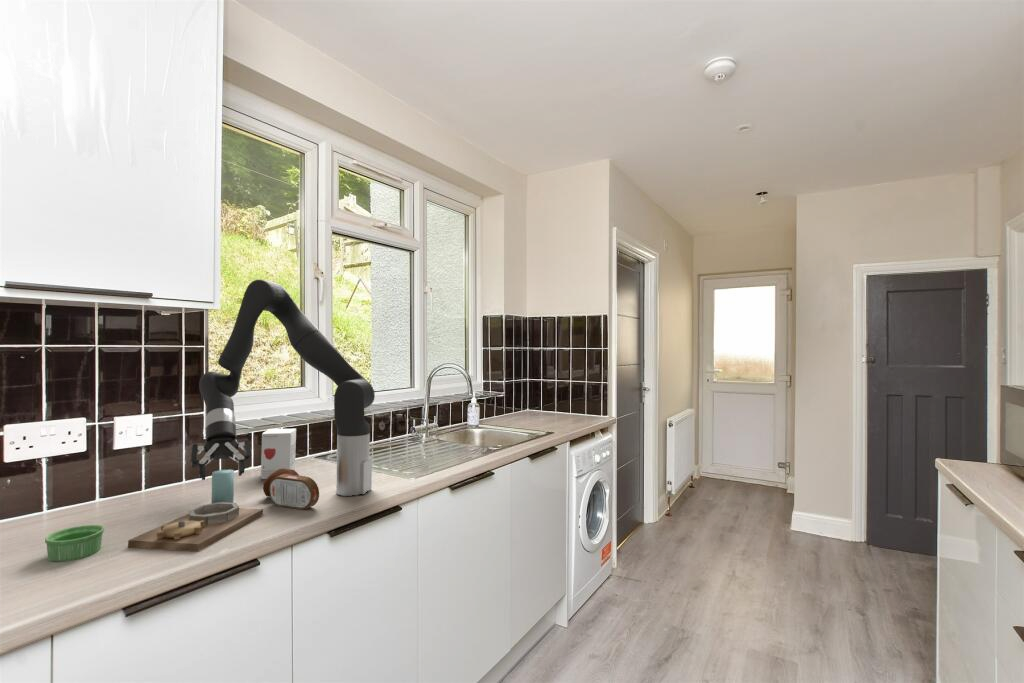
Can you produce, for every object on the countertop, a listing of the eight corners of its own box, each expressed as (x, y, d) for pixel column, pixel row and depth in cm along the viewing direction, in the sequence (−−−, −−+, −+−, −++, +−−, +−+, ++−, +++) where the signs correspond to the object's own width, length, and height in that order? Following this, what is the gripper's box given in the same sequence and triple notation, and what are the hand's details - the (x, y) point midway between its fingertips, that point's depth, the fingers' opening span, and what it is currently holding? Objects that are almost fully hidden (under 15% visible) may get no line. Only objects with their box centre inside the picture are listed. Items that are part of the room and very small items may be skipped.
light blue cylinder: (237, 505, 130) (238, 469, 130) (224, 511, 125) (225, 474, 125) (220, 504, 130) (220, 469, 130) (206, 510, 125) (207, 473, 125)
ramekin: (35, 567, 93) (35, 544, 93) (57, 548, 101) (57, 527, 101) (93, 559, 96) (94, 537, 96) (110, 542, 105) (110, 522, 105)
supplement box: (259, 479, 154) (260, 433, 155) (267, 472, 163) (267, 428, 163) (290, 478, 156) (291, 432, 157) (295, 471, 165) (296, 427, 165)
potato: (309, 492, 142) (309, 465, 142) (276, 503, 132) (276, 474, 132) (290, 488, 145) (291, 462, 145) (256, 499, 135) (257, 471, 135)
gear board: (262, 515, 122) (263, 499, 122) (198, 551, 100) (198, 532, 100) (204, 512, 124) (204, 496, 124) (127, 547, 102) (128, 528, 102)
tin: (319, 508, 128) (320, 477, 128) (311, 512, 125) (311, 480, 125) (275, 502, 133) (276, 471, 133) (266, 505, 130) (267, 474, 130)
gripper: (191, 421, 133) (191, 472, 123) (249, 417, 141) (253, 465, 131) (191, 437, 137) (190, 487, 128) (247, 433, 145) (251, 480, 136)
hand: (222, 476), depth 130 cm, fingers open, 8 cm apart
